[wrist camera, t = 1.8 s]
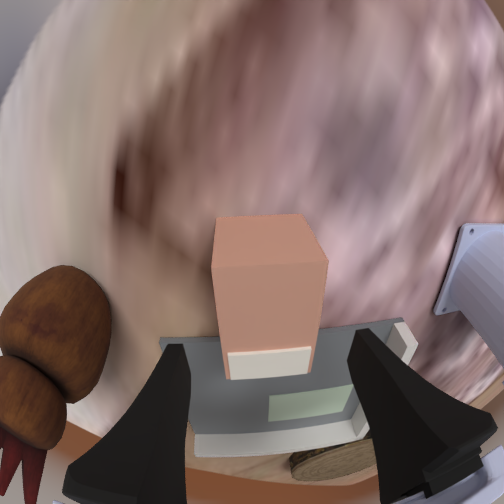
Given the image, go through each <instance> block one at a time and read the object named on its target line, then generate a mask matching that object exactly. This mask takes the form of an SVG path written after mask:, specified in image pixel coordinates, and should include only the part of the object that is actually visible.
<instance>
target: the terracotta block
mask: <svg viewBox="0 0 504 504" xmlns="http://www.w3.org/2000/svg"><path fill="white" fill-rule="evenodd" d="M328 262H329V261H328V259H327V257H326V255H325V253H324V252H323V250H322V248H321V246H320V245H319V243H318V241H317V239H316V238H315V236H314V234H313V232H312V231H311V229H310V227H309V226H308V224H307V222H306V220H305V219H304V217H303V215H302V214H285V215H260V216H239V217H221V218H217V219H216V227H215V236H214V246H213V255H212V265H211V270H212V279H213V287H214V295H215V303H216V311H217V318H218V326H219V333H220V340H221V347H222V354H223V361H224V367H225V374H226V379H231V380H240V379H256V378H269V377H281V376H290V375H299V374H307V373H309V372H311V367H312V362H313V357H314V352H315V347H316V341H317V335H318V330H319V324H320V318H321V312H322V305H323V299H324V292H325V285H326V278H327V270H328Z"/></svg>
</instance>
